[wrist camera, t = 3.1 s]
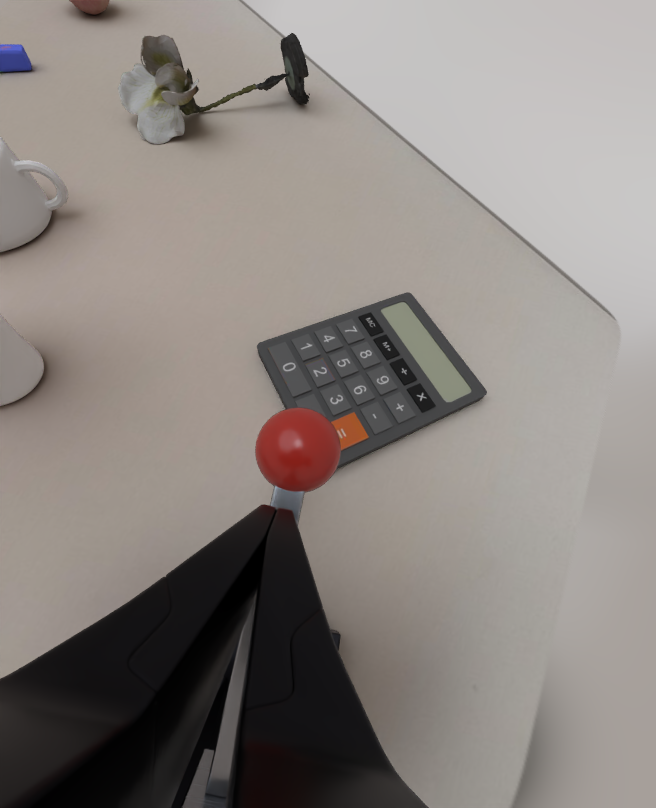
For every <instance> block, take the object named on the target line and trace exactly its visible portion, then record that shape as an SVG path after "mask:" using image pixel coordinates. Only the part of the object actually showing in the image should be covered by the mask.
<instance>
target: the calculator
mask: <svg viewBox="0 0 656 808" xmlns="http://www.w3.org/2000/svg"><path fill="white" fill-rule="evenodd" d="M257 349H258V354H259V356H260V358H261V360H262V362H263V364H264V366H265V368H266V370H267V372H268V374H269V376H270V378H271V380H272V382H273V384H274V386H275V388H276V390H277V392H278V394H279V396H280V398H281V400H282V402H283V404H284V406H285V408H286V409H289V408H295V407H302V408H308V409H312V410H315V411H317V412H319V413H321V414H322V415H324V416H325V417H326V418H327V419H328V420H329V421H330V422H331V423H332V424H333V426H334V427H335V429H336V431H337V433H338V435H339V439H340V444H341V455H340V460H339V464H338V466H337V469H338V468H340V467H342V466H344V465H346V464H348V463H350V462H352V461H355V460H357V459H359V458H361V457H363V456H365V455H367V454H369V453H371V452H373V451H375V450H377V449H379V448H381V447H384V446H386V445H388V444H390V443H392V442H394V441H396V440H398V439H400V438H402V437H404V436H406V435H408V434H410V433H413V432H415V431H417V430H419V429H421V428H423V427H425V426H427V425H429V424H431V423H433V422H435V421H437V420H439V419H442V418H444V417H446V416H448V415H450V414H452V413H454V412H456V411H458V410H460V409H462V408H464V407H466V406H468V405H471V404H473V403H475V402H477V401H479V400H480V399H482V398H483V397H484V396H485V395H486V394H487V391H486V390H485V388H484V387H483V385H482V384H481V383H480V382H479V380H478V379H477V378H476V376H475V375H474V374H473V373H472V371H471V370H470V369H469V367H468V366H467V365H466V364H465V362H464V361H463V360H462V358H461V357H460V356H459V355H458V353H457V352H456V351H455V349H454V348H453V347H452V345H451V344H450V343H449V342H448V340H447V339H446V338H445V336H444V335H443V334H442V333H441V331H440V330H439V329H438V327H437V326H436V325H435V324H434V322H433V321H432V320H431V318H430V317H429V316H428V314H427V313H426V312H425V311H424V309H423V308H422V307H421V305H420V304H419V303H418V302H417V300H416V299H415V298H414V296H413V295H412V294H411V293H404V294H401V295H398V296H395V297H392V298H389V299H386V300H383V301H380V302H377V303H375V304H372V305H369V306H366V307H363V308H360V309H357V310H354V311H351V312H348V313H345V314H342V315H339V316H336V317H333V318H331V319H328V320H325V321H322V322H319V323H316V324H313V325H310V326H307V327H304V328H301V329H298V330H295V331H292V332H289V333H287V334H284V335H281V336H278V337H275V338H272V339H269V340H266V341H263V342H260V343H259V344H258V345H257Z"/></svg>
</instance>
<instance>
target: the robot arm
mask: <svg viewBox="0 0 656 808" xmlns="http://www.w3.org/2000/svg"><path fill="white" fill-rule="evenodd" d="M256 594H257V596H256ZM255 597H256V602H255V608H254V615H253V622H252V628H251V635H250V642H249V648H248V655H247V662H246V669H245V675H244V682H243V689H242V695H241V702H240V709H239V715H238V722H237V729H236V735H235V742H234V749H233V755H232V762H231V769H230V776H229V782H228V789H227V796H226V802H225V808H428V807H427V806H426V805H425V804H424V803H423V801H422V800H421V799H420V798H419V797H418V796H417V795H416V794H415V793H414V792H413V791H412V790H411V789H410V788H409V787H408V786H407V785H406V784H405V782H404V781H403V780H402V779H401V777H400V776H399V775H398V773H397V772H396V771H395V769H394V768H393V766H392V765H391V763H390V761H389V760H388V758H387V756H386V754H385V753H384V751H383V749H382V747H381V745H380V743H379V741H378V738H377V736H376V734H375V732H374V730H373V728H372V725H371V723H370V721H369V719H368V717H367V715H366V712H365V710H364V708H363V706H362V704H361V701H360V699H359V697H358V695H357V693H356V690H355V688H354V686H353V684H352V682H351V680H350V677H349V675H348V673H347V671H346V668H345V666H344V664H343V661H342V659H341V657H340V654H339V652H338V650H337V647H336V645H335V642H334V639H333V636H332V633H331V630H330V628H329V625H328V622H327V618H326V615H325V612H324V610H323V609H322V608H323V606H322V603H321V600H320V597H319V593H318V590H317V587H316V584H315V580H314V577H313V574H312V571H311V568H310V564H309V561H308V558H307V555H306V552H305V548H304V545H303V542H302V539H301V536H300V532H299V529H298V526H297V523H296V520H295V516H294V513H293V511H292V510H288V509H283V508H278V509H276V507H273V506H269V505H260V506H259V507H258V508H256V509H255V510H254V511H252V512H251V513H250V514H248V515H247V516H245V517H244V518H243V519H241V520H240V521H239V522H237V523H236V524H235V525H233V526H232V527H231V528H229V529H228V530H226V531H225V532H224V533H222V534H221V535H220V536H218V537H217V538H216V539H214V540H213V541H212V542H210V543H209V544H208V545H206V546H205V547H203V548H202V549H201V550H199V551H198V552H197V553H195V554H194V555H193V556H191V557H190V558H189V559H187V560H186V561H184V562H183V563H182V564H180V565H179V566H178V567H176V568H175V569H174V570H172V571H171V572H170V573H168V574H167V575H166V577H163V578H161V579H160V580H158V581H157V582H156V583H154V584H153V585H152V586H150V587H149V588H147V589H146V590H145V591H143V592H142V593H140V594H139V595H137V596H136V597H135V598H133V599H132V600H130V601H129V602H127V603H126V604H124V605H123V606H121V607H120V608H118V609H116V610H115V611H113V612H112V613H110V614H109V615H107V616H105V617H104V618H102V619H101V620H99V621H97V622H96V623H94V624H93V625H91V626H89V627H88V628H86V629H84V630H83V631H81V632H79V633H78V634H76V635H74V636H73V637H71V638H69V639H68V640H66V641H65V642H63V643H61V644H60V645H58V646H56V647H55V648H53V649H51V650H50V651H48V652H46V653H45V654H43V655H41V656H40V657H38V658H37V659H35V660H33V661H32V662H30V663H28V664H27V665H25V666H23V667H21V668H20V669H18V670H16V671H14V672H13V673H11V674H9V675H7V676H5V677H3V678H1V679H0V808H171V806H172V804H173V801H174V799H175V796H176V794H177V791H178V789H179V786H180V784H181V781H182V779H183V776H184V774H185V771H186V769H187V766H188V764H189V761H190V759H191V756H192V754H193V751H194V749H195V746H196V744H197V742H198V739H199V737H200V734H201V732H202V729H203V727H204V724H205V722H206V719H207V717H208V714H209V712H210V709H211V707H212V704H213V702H214V699H215V697H216V694H217V692H218V689H219V687H220V684H221V682H222V679H223V677H224V675H225V672H226V670H227V667H228V665H229V662H230V660H231V657H232V655H233V652H234V650H235V647H236V645H237V642H238V640H239V637H240V635H241V632H242V630H243V627H244V625H245V622H246V620H247V617H248V615H249V612H250V610H251V608H252V605H253V602H254V600H255Z"/></svg>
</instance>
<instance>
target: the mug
mask: <svg viewBox="0 0 656 808" xmlns="http://www.w3.org/2000/svg"><path fill="white" fill-rule="evenodd" d="M29 171H32V172H37V173H40V174H42V175H44V176H46V177H47V178H48V179H50V180H51V181H52V182H53V184H54V185H55V186H56V189H57V195H56V197H55V198H53V199H51V200H49V199H48V197H47V196H46V194H45V192H44V191H43V189H42V188H41V187H40V185H39V184H38V183H37V181H36V180H35V179H34V178H33V176H32V175H31V174H30V173H29ZM67 199H68V191H67V188H66V186H65V184H64V183H63V181H62V180H61V178H60V177H59V176H58V175H57V174H56V173H55V172H54V171H53V170H51V169H50V168H49V167H47V166H45V165H43V164H41V163H39V162H35V161H30V160H22V161H20V160H19V159H18V158H17V156H16V155H15V154H14V153H13V151H12V150H11V149H10V148H9V146H8V145H7V144H6V143H5V141H4V140H3V139H2V137H0V252H3V251H7V250H10V249H13V248H16V247H19V246H21V245H23V244H25V243H27V242H29V241H31V240H33V239H34V238H35V237H37V236H38V235H39V234H41V233H42V231H43V230H44V229H45V228H46V227H47V225H48V223H49V221H50V218H51V213H52V210H54V209H57V208H60V207H62V206H63V205H64V204H65V203H66V202H67Z"/></svg>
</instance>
